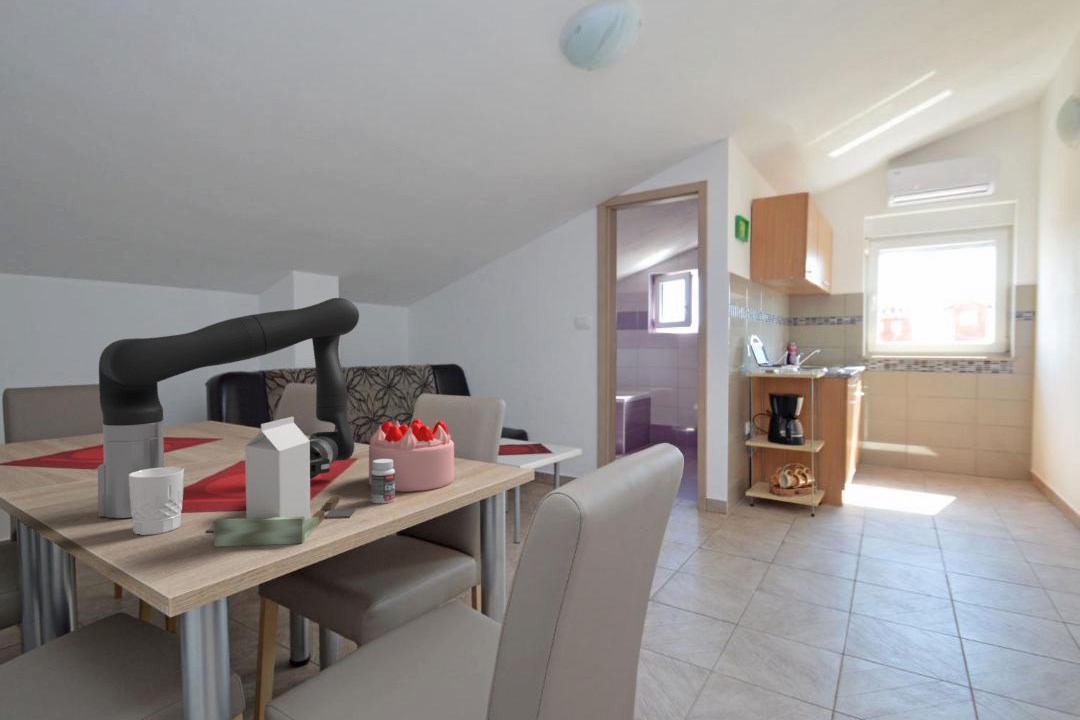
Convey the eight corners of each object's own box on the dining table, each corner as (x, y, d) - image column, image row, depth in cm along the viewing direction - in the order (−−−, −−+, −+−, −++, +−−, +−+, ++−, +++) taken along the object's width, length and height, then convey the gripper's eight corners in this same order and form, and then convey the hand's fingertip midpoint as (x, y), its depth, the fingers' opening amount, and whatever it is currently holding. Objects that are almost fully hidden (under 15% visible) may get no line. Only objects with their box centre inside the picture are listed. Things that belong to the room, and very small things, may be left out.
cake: (392, 498, 115) (392, 431, 115) (354, 480, 130) (354, 421, 130) (469, 483, 128) (469, 423, 127) (427, 469, 143) (427, 415, 142)
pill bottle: (388, 504, 110) (388, 463, 109) (366, 503, 111) (366, 462, 110) (399, 498, 114) (398, 458, 114) (378, 497, 115) (378, 457, 115)
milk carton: (310, 523, 96) (309, 418, 94) (280, 539, 89) (278, 426, 87) (278, 517, 98) (277, 414, 96) (246, 533, 91) (244, 422, 89)
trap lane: (214, 546, 86) (214, 521, 86) (270, 504, 109) (269, 484, 109) (302, 543, 88) (302, 518, 87) (338, 502, 111) (338, 483, 111)
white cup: (152, 521, 98) (151, 466, 98) (194, 522, 98) (194, 467, 98) (117, 536, 90) (116, 476, 90) (163, 537, 90) (162, 477, 90)
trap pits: (204, 535, 91) (204, 533, 91) (209, 524, 97) (209, 522, 97) (358, 516, 102) (358, 514, 102) (354, 507, 107) (354, 506, 107)
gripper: (277, 441, 114) (241, 455, 96) (342, 440, 115) (319, 454, 98) (277, 477, 114) (241, 497, 96) (342, 475, 115) (319, 495, 98)
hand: (280, 475), depth 97 cm, fingers closed
